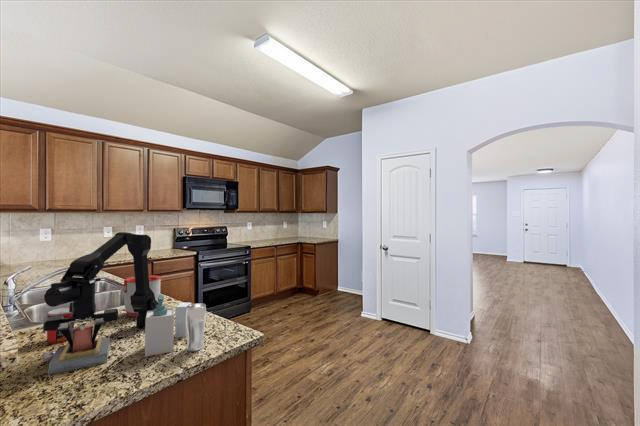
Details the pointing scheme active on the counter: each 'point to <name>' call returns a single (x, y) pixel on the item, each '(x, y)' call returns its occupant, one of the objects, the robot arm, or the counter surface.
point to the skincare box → (180, 320)
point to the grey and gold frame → (77, 356)
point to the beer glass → (195, 326)
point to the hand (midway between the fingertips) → (82, 345)
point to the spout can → (82, 338)
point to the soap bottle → (159, 329)
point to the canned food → (53, 335)
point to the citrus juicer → (131, 288)
